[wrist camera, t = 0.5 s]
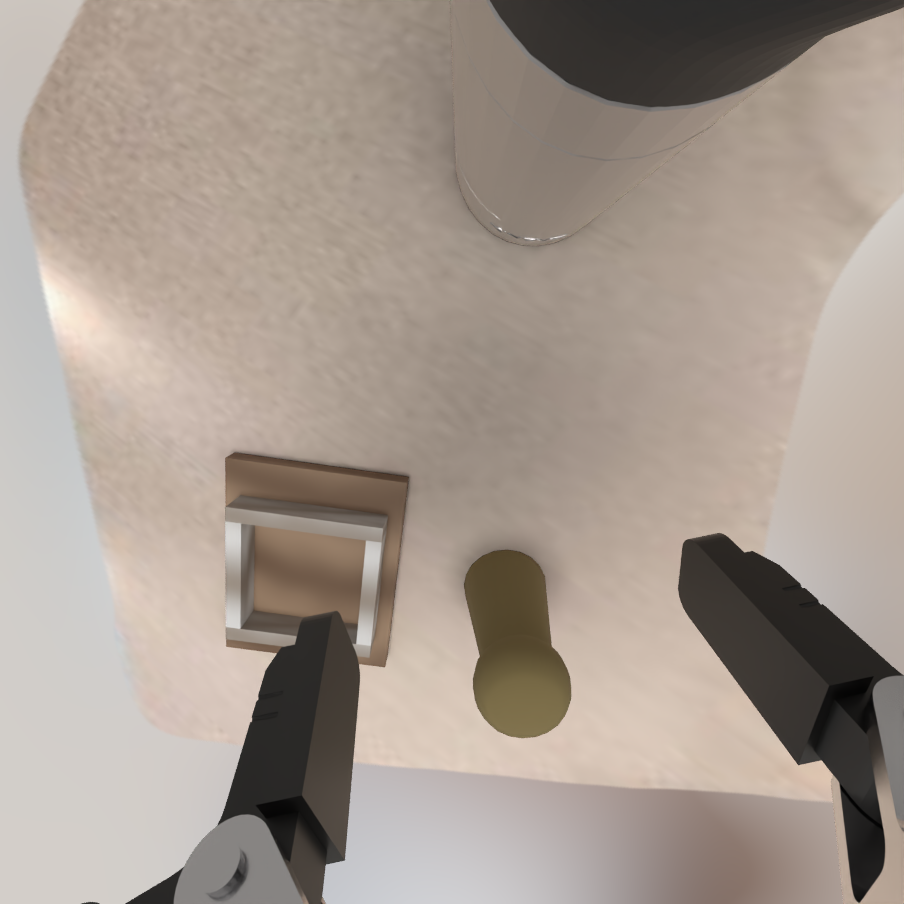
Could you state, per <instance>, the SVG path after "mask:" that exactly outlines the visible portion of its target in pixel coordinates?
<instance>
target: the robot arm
mask: <svg viewBox="0 0 904 904" xmlns="http://www.w3.org/2000/svg"><path fill="white" fill-rule="evenodd" d="M903 7H904V0H450V13H451V43H452V74H453V104H454V140H455V160H456V174H457V178H458V182H459V186H460V190H461V193H462V195H463V197H464V199H465V201H466V204H467V206H468V208H469V209H470V210H471V212H472V213H473V215H474V216H475V217H476V219H477V220H478V221H479V222H480V223H481V224H482V225H483V226H484V227H485V228H487V229H488V230H489V231H490V232H491V233H493V234H494V235H496V236H498V237H500V238H502V239H504V240H505V241H508V242H512V243H516V244H519V245H529V246H540V245H546V244H551V243H555V242H558V241H560V240H562V239H565V238H567V237H569V236H571V235H573V234H574V233H575V232H577V231H578V230H580V229H581V228H583V227H584V226H585V225H587V224H588V223H589V222H590V221H592V220H593V219H594V218H595V217H597V216H598V215H600V214H601V213H602V212H604V211H605V210H606V209H607V208H609V207H610V206H611V205H612V204H614V203H615V202H616V201H618V200H619V199H620V198H621V197H623V196H624V195H625V194H626V193H628V192H629V191H630V190H631V189H633V188H634V187H635V186H636V185H638V184H639V183H640V182H642V181H643V180H644V179H645V178H647V177H648V176H649V175H650V174H652V173H653V172H654V171H655V170H657V169H658V168H659V167H661V166H662V165H663V164H664V163H666V162H667V161H668V160H669V159H671V158H672V157H673V156H674V155H676V154H677V153H678V152H680V151H681V150H682V149H683V148H685V147H686V146H687V145H688V144H690V143H691V142H692V141H693V140H695V139H696V138H697V137H699V136H700V135H701V134H702V133H704V132H705V131H706V130H707V129H709V128H710V127H711V126H712V125H713V124H715V123H716V122H717V121H718V120H719V119H721V118H722V117H723V116H724V115H726V114H727V113H728V112H729V111H731V110H732V109H733V108H735V107H736V106H737V105H738V104H740V103H741V102H742V101H743V100H745V99H746V98H747V97H748V96H750V95H751V94H752V93H754V92H755V91H756V90H757V89H759V88H760V87H761V86H762V85H764V84H765V83H766V82H767V81H769V80H770V79H771V78H772V77H774V76H775V75H776V74H778V73H779V72H780V71H781V70H783V69H784V68H785V67H786V66H787V65H789V64H790V63H791V62H792V61H794V60H795V59H796V58H798V57H799V56H800V55H801V54H803V53H804V52H805V51H807V50H808V49H809V48H811V47H812V46H813V45H814V44H816V43H817V42H818V41H820V40H821V39H822V38H824V37H825V36H827V35H830V34H832V33H835V32H837V31H840V30H843V29H845V28H848V27H850V26H853V25H856V24H859V23H861V22H864V21H867V20H870V19H872V18H875V17H878V16H881V15H884V14H887V13H890V12H893V11H895V10H898V9H900V8H903ZM678 591H679V597H680V600H681V603H682V605H683V608H684V610H685V612H686V613H687V615H688V616H689V618H690V619H691V620H692V622H693V623H694V624H695V626H696V627H697V629H698V630H699V631H700V633H701V634H702V635H703V637H704V638H705V639H706V641H707V642H708V643H709V645H710V646H711V647H712V649H713V650H714V652H715V653H716V654H717V656H718V657H719V658H720V660H721V661H722V662H723V664H724V665H725V666H726V668H727V669H728V671H729V672H730V673H731V675H732V676H733V677H734V679H735V680H736V681H737V683H738V684H739V685H740V687H741V688H742V689H743V691H744V692H745V694H746V695H747V696H748V698H749V699H750V700H751V702H752V703H753V704H754V706H755V707H756V708H757V710H758V711H759V713H760V714H761V715H762V717H763V718H764V719H765V721H766V722H767V723H768V725H769V726H770V727H771V729H772V730H773V731H774V733H775V734H776V736H777V737H778V738H779V740H780V741H781V742H782V744H783V745H784V746H785V748H786V749H787V750H788V752H789V753H790V755H791V756H792V757H793V759H794V760H795V761H796V763H797V764H798V765H801V764H806V763H810V762H815V761H820V760H822V761H823V762H824V764H825V765H826V766H827V768H828V769H829V770H830V771H831V773H832V774H833V776H832V780H831V789H832V799H833V807H834V818H835V827H836V837H837V847H838V856H839V866H840V875H841V885H842V895H843V904H904V675H902V674H901V673H900V672H898V671H897V670H896V669H895V668H894V667H892V666H891V665H890V664H889V663H888V662H887V661H885V659H883V658H882V657H881V656H880V655H879V654H878V653H877V652H876V651H875V650H873V649H872V648H871V647H870V646H869V645H868V644H867V643H866V642H865V641H863V640H862V639H861V638H860V637H859V636H858V635H856V633H855V632H853V631H852V630H851V629H850V628H849V627H848V626H847V625H846V624H844V623H843V622H842V621H841V620H840V619H839V618H838V617H837V616H835V615H834V614H833V613H832V612H831V611H830V610H829V609H828V608H827V607H826V606H824V605H823V604H822V605H821V604H820V603H819V602H818V600H817V598H815V597H814V596H813V595H812V594H811V593H810V592H809V591H808V590H807V589H805V588H802V587H801V585H800V583H799V582H798V581H797V580H795V579H794V578H793V577H792V576H791V575H790V574H788V573H787V571H785V570H784V569H783V568H782V567H781V566H780V565H778V564H776V563H774V562H772V561H771V560H769V559H767V558H765V557H763V556H761V555H759V554H757V553H755V552H753V551H750V552H745V553H744V552H743V551H742V550H741V549H740V548H739V547H738V546H737V545H736V544H735V543H734V542H733V541H732V540H731V539H729V538H728V537H727V536H726V535H724V534H722V533H717V534H712V535H707V536H702V537H698V538H693V539H688V540H686V541H685V542H684V543H683V548H682V557H681V566H680V576H679V585H678ZM359 685H360V671H359V662H358V658H357V654H356V651H355V649H354V646H353V644H352V642H351V639H350V637H349V634H348V632H347V629H346V627H345V625H344V622H343V620H342V617H341V615H340V613H339V612H338V611H332V612H328V613H323V614H318V615H313V616H308V617H304V618H303V619H302V620H301V622H300V626H299V630H298V634H297V638H296V642H295V645H290V646H285V647H281V649H280V650H279V652H278V653H277V654H276V656H275V657H274V659H273V660H272V662H271V663H270V665H269V666H268V668H267V669H266V671H265V674H264V678H263V681H262V685H261V688H260V691H259V695H258V697H259V699H258V701H256V705H255V708H254V711H253V715H252V722H250V725H249V728H248V732H247V735H246V738H245V742H244V745H243V749H242V752H241V755H240V759H239V762H238V766H237V769H236V772H235V776H234V779H233V782H232V786H231V789H230V792H229V796H228V799H227V802H226V806H225V809H224V811H223V814H222V817H221V819H220V821H219V823H218V825H217V827H215V828H214V829H213V830H212V831H210V832H209V833H208V834H207V835H206V836H205V837H204V838H203V839H202V841H201V842H200V843H199V844H198V846H197V847H196V848H195V849H194V851H193V852H192V854H191V855H190V857H189V859H188V860H187V862H186V864H185V866H184V867H183V868H182V869H181V870H179V871H178V872H177V873H175V874H174V875H172V876H171V877H169V878H168V879H166V880H164V881H162V882H161V883H159V884H157V885H156V886H154V887H152V888H151V889H149V890H147V891H146V892H144V893H142V894H141V895H139V896H137V897H136V898H134V899H132V900H131V901H129V902H127V903H126V904H326V903H325V901H324V899H323V897H322V892H323V883H324V874H325V866H326V864H330V863H335V862H340V861H344V860H345V851H346V839H347V827H348V816H349V803H350V792H351V780H352V768H353V756H354V744H355V733H356V721H357V709H358V697H359ZM82 904H99V903H95V902H88V903H82Z"/></svg>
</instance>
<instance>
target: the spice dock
mask: <svg viewBox="0 0 904 904" xmlns="http://www.w3.org/2000/svg"><path fill="white" fill-rule="evenodd" d="M225 471H226V507H225V568H226V647H233V648H241V649H248V650H256V651H264V652H271V653H278V652H279V650H280V649H281V647H285V646H290V645H295V642H296V638H297V634H298V630H299V626H300V622H301V620H302V619H303V618H304V617H308V616H313V615H318V614H323V613H328V612H332V611H338V612H339V613H340V615H341V617H342V620H343V622H344V625H345V627H346V629H347V632H348V634H349V637H350V639H351V642H352V644H353V646H354V649H355V651H356V654H357V658H358V662H359V664H364V665H371V666H379V667H385V665H386V660H387V655H388V647H389V639H390V630H391V622H392V614H393V605H394V597H395V589H396V580H397V572H398V564H399V555H400V547H401V539H402V530H403V522H404V514H405V505H406V497H407V489H408V480H409V477H406V476H398V475H391V474H384V473H377V472H370V471H362V470H355V469H348V468H341V467H334V466H326V465H319V464H312V463H305V462H298V461H291V460H283V459H276V458H269V457H262V456H255V455H247V454H240V453H233V454H231V455H230V456H228V457H226V458H225Z"/></svg>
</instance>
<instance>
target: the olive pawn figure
mask: <svg viewBox="0 0 904 904" xmlns="http://www.w3.org/2000/svg"><path fill="white" fill-rule="evenodd" d="M464 589H465V595H466V600H467V604H468V608H469V612H470V617H471V621H472V625H473V629H474V633H475V638H476V642H477V646H478V650H479V654H480V657H479V659H478V661H477V665H476V668H475V673H474V677H473V690H474V696H475V701H476V704H477V707H478V709H479V711H480V712H481V714H482V716H483V717H484V719H485V720H486V721H487V722H488V723H489V724H490V725H491V726H492V727H494V728H495V729H496V730H497V731H499V732H501V733H503V734H505V735H508V736H511V737H518V738H530V737H537V736H539V735H542V734H545V733H548V732H549V731H551V730H552V729H553V728H555V727H556V726H558V724H559V723H560V722H561V720H562V719H563V718H564V717H565V714H566V712H567V710H568V707H569V704H570V701H571V683H570V676H569V673H568V670H567V668H566V666H565V664H564V662H563V660H562V658H561V657H560V655H559V654H558V652H557V651H556V650H555V649H554V648H553V647H552V645H551V635H550V625H549V615H548V605H547V595H546V585H545V576H544V574H543V572H542V570H541V568H540V566H539V565H538V564H537V563H536V562H535V561H534V560H533V559H532V558H531V557H529V556H527V555H525V554H523V553H521V552H517V551H511V550H501V551H493V552H491V553H489V554H486V555H484V556H482V557H481V558H479V559H478V560H477V561H476V562H475V563H473V564H472V566H471V568H470V569H469V571H468V572H467V574H466V578H465V583H464Z"/></svg>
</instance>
